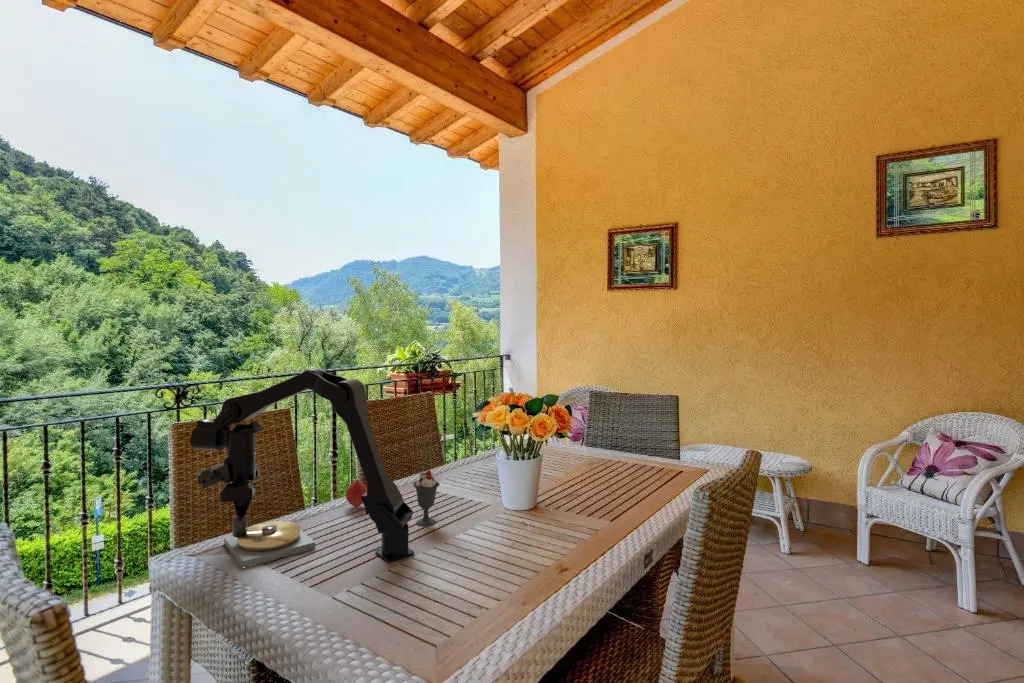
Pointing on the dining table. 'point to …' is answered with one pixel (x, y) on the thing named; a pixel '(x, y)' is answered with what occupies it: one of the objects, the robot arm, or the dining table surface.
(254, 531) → the handwheel
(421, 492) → the sundae
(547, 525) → the dining table surface
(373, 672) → the dining table surface
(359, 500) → the onion
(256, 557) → the base plate
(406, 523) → the robot arm
